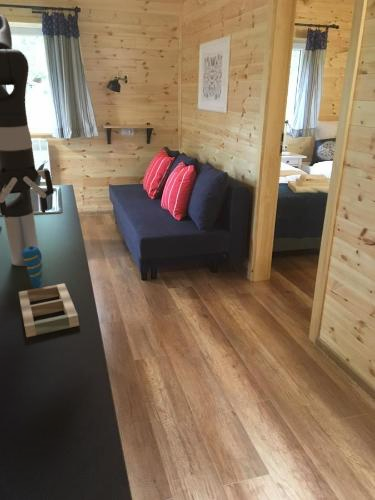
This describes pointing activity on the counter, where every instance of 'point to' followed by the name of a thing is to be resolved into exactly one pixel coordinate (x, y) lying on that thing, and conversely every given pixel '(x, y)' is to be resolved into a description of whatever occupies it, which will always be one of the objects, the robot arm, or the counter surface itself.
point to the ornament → (33, 264)
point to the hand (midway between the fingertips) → (25, 214)
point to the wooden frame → (47, 310)
